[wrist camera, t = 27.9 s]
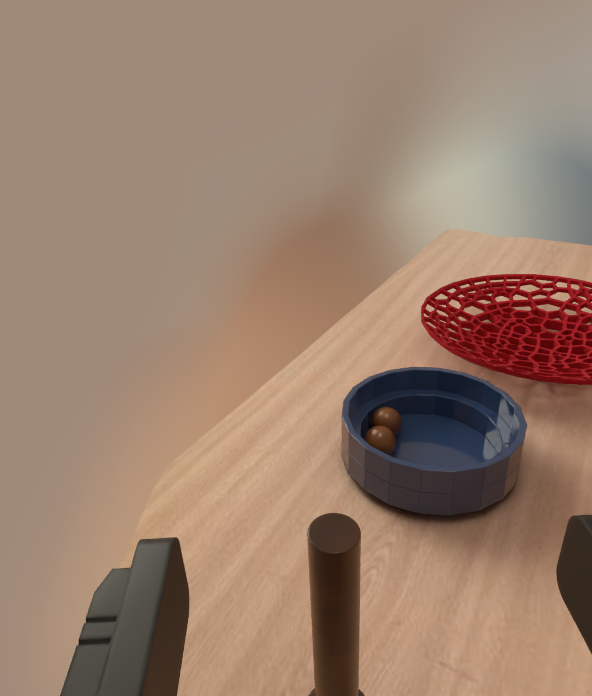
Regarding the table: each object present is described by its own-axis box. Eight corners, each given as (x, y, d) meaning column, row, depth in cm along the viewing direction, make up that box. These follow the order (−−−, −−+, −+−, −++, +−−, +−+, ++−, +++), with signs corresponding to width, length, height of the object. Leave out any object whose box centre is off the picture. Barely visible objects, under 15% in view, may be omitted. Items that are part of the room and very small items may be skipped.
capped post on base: (295, 756, 31) (278, 558, 24) (312, 687, 35) (302, 494, 27) (365, 776, 30) (371, 576, 23) (376, 703, 34) (384, 507, 26)
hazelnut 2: (364, 458, 54) (363, 427, 54) (396, 458, 53) (394, 426, 54) (365, 457, 51) (363, 424, 51) (398, 456, 50) (396, 423, 51)
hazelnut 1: (361, 424, 55) (385, 414, 53) (370, 407, 57) (393, 396, 55) (379, 447, 55) (403, 438, 53) (387, 428, 57) (411, 419, 55)
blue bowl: (336, 514, 47) (335, 464, 45) (347, 407, 62) (347, 364, 59) (535, 529, 45) (546, 477, 43) (499, 414, 59) (506, 369, 57)
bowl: (385, 383, 66) (386, 345, 63) (451, 293, 88) (454, 263, 86) (679, 452, 53) (695, 408, 50) (669, 326, 75) (680, 291, 73)
